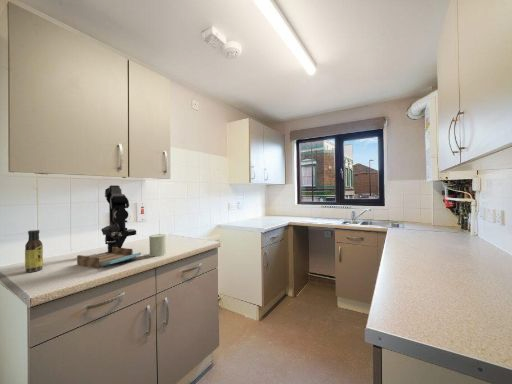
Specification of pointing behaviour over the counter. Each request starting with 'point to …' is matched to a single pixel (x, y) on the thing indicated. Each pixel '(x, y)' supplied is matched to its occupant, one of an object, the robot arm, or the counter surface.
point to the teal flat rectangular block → (121, 259)
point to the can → (157, 245)
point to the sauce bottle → (33, 252)
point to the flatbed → (103, 257)
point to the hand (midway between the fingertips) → (119, 248)
